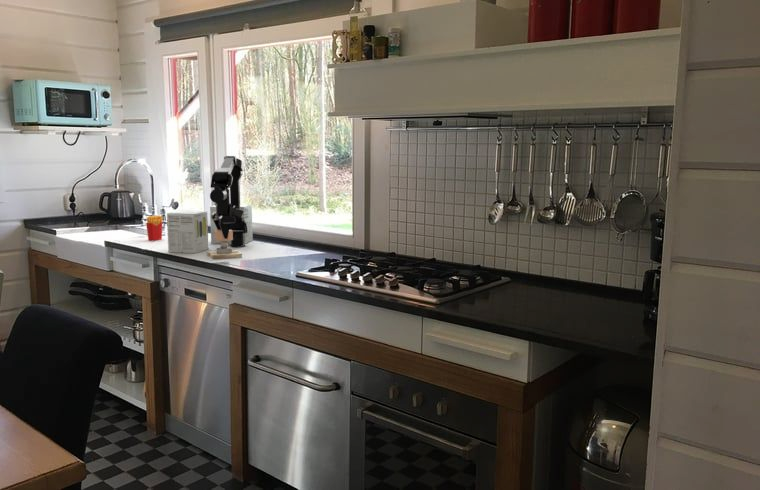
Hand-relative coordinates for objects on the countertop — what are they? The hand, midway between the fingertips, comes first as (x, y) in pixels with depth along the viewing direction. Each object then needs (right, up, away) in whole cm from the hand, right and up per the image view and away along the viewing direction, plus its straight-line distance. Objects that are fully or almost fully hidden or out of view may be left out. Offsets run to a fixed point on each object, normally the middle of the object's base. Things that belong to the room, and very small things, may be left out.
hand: (223, 237), depth 272 cm
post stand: (0, -8, +1) cm, 8 cm away
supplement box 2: (-6, -2, +41) cm, 42 cm away
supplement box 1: (-19, -6, +15) cm, 25 cm away
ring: (0, -1, 0) cm, 1 cm away
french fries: (-45, -1, +46) cm, 65 cm away
